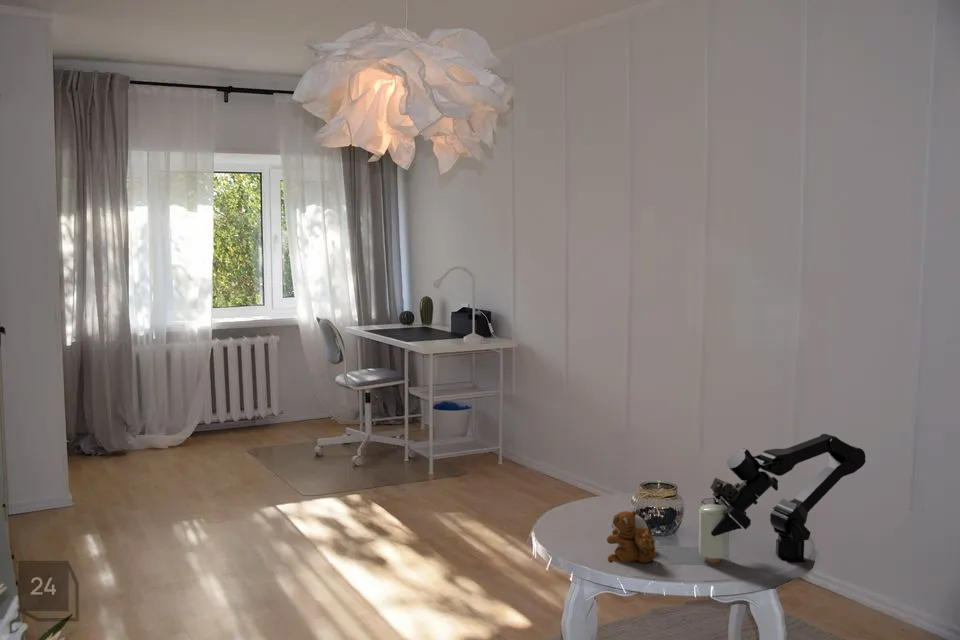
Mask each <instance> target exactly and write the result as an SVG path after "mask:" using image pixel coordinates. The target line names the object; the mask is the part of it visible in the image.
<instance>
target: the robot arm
mask: <svg viewBox="0 0 960 640" xmlns="http://www.w3.org/2000/svg"><path fill="white" fill-rule="evenodd" d="M825 453H828V454H829V456H828V462H827V465H826V466H825V467H824V468H823V469H822V470H821V471H820V472H819V473H818V474H817V475H815V477H814V478H813V479H812V480H811V481H810V482H809V483H808V484H807V485H806V486H805V488H803V489H802V491H800V492H799V494H798V495H796V496H795V497H794V498H793V499H791V500H787V499H785V498H781V500H780V501H779V502H778V503H777V504H776V505H775V506H774V507H772V509H773V510H772V511H771V513H770V515H769V517H770V519H769V520H770V524H771V526H772V528H773V531H774V533H776V534H778V535H777V538H778V539H777V538H776V539H775V555H776V556H777V557H778V558H779V559H780V560H781V561H782V562H783V561H784V562H789V563H790V562H792V563H793V562H795V563H797V562H798V563H806V561H807V560H806V558H805V541H809V540H810V539H809V538H810V536H811V531H810V529H808V528H807V526H805V524H806V523H807V519H808V513H809V512H810V511H811V510H812V509H813V508H814V507H815V506H816V505H817V503H819V502H820V501H821V499H823V497H825V496H826V495H827V493H828V492H829V491H831V489H833V487H834V486H835V485H837V483H838V482H839V481H840V480H841V479H842V478H844V477H845V476H848V475H851V474H854V473H856V472H858V470H860V469H861V468H862V467H864V465H865V464H866V452H865V451H864V449H862V448H860V447H856V446H853V445H850V444H848V443H846V442H845V441H843V440H841V439H839V438H838V437H837V436H835V435H831V434H827V433H822V434H820V435H819V436H817V437H814V438H812V439H808V440H807V441H806V440H805V441H803V442H801V443H798V444H796V445H795V444H794V445H793V446H790V447H786V448H771V449H766V450H764V451H762V452H761V453H760V454H758V455H754V456H753V454H752V453H751V452H750V450H748V449H746V448H741V449H740V451H736V452H734V453H732V454H730V455H729V457H728V458H727V460H726V466H727V468H728V469H729V470H730V471H731V472H732V473H733V474H734V475H736V477H737V478H738V479H740V481H743V482H741V483H739V482H737V483H735V484H732V483H729V482H728V481H724V480H722V479H720V478H717V477H714V479H713V481H712V483H711V485H710V489H711V491H712V492H713V493H712V495H713V497H712V500H713V501H712V504H716V505H722V506H725V507H727V511H728V513H729V514H728V513H727V512H726V511H725V510H724V511H723V518H722V520H721V521H720V522H719V523H718V525H717V526H716V527H715V528H714V530H713V531H712V532H711V534H712V535H713V536H717V535H720V534H723V533H726V532H729V533H730V532H732V531H736V530H742V529H744V530H747V529H748V528H749V527H750V526H751V524H752V523H751V522H752V520H751V519H750V518H749V516H748V515H747V513H748V512H746V511H747V510H748V509H749V508H750V507H751V506H752V505H753V504H754V506H756V505H757V504H758V503H759V502H758V501H757V500H758V499H759V498H760V497H762V495H763V494H764V493H765V492H767V491H768V490H769V489H770V488H773V490H775V491H778V490H779V484H778V483H779V480H778V479H777V478H776V477H775V476H777V477H782V476H784V475H786V474H787V473H790V471H792V470H793V469H794V467H795V466H796V465H798V464H799V463H800V464H801V463H803V462H805V461H808V460H810V459H814V458H815V457H818V456H821V455H823V454H825ZM760 469H761V471H760ZM769 474H771V475H772V474H773V475H774V476H773V477H772V476H770V475H769Z"/></svg>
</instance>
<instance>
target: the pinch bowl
mask: <svg viewBox="0 0 960 640" xmlns="http://www.w3.org/2000/svg"><path fill="white" fill-rule="evenodd" d="M705 561H706V562H708V563H712V564H717V563H720V558H708V557H705Z"/></svg>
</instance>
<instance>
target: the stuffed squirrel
mask: <svg viewBox="0 0 960 640" xmlns="http://www.w3.org/2000/svg"><path fill="white" fill-rule="evenodd" d="M635 515H637V511H635V510H633V511H632V510H631V511H627V510H626V511H624V510H623V511H620V512H618V513H617V514H615V515H614V516H613V519H612V522H611V528H612V533H611V534H610V535H608V536H607V537H606V541H607V543H608V544H610V545H612V544H613V545H614V544H616V546H615V549H614V554H613V553H612V554H611V553H610V554H609V555H608V556H607V561H609V562H611V563H613V562H618V563H634V562H638V563H643V564H647V563H650V562H652V561H653V560H654V559H655V557H656V556H657V553H656V546H655V542H656V541H655V540H654V537H653V535H652V534H651V531H650V530H649V528H648V529H646V528H642V527H640V528H638V529H637V528H636V526H635ZM614 526H615V527H616V528H617V529H614V530H613V527H614Z"/></svg>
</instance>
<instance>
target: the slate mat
mask: <svg viewBox="0 0 960 640" xmlns="http://www.w3.org/2000/svg"><path fill="white" fill-rule="evenodd" d="M661 547H662V550H663V553H664V554H665V557H666V559H667V562H668V565H669V564H670V565H691V566H692V565H693V566H694V565H697V566H699V565H700V566H730V567H734V563H733V562H732V560H731V558H730V557H729V556H727V557H724V558H720V563H717V564H712V563H708V562H706V561H705V557H704V556H701V555H700V553H699V546H678V545H675V546H674V545H671V546H668V545H662V546H661Z"/></svg>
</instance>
